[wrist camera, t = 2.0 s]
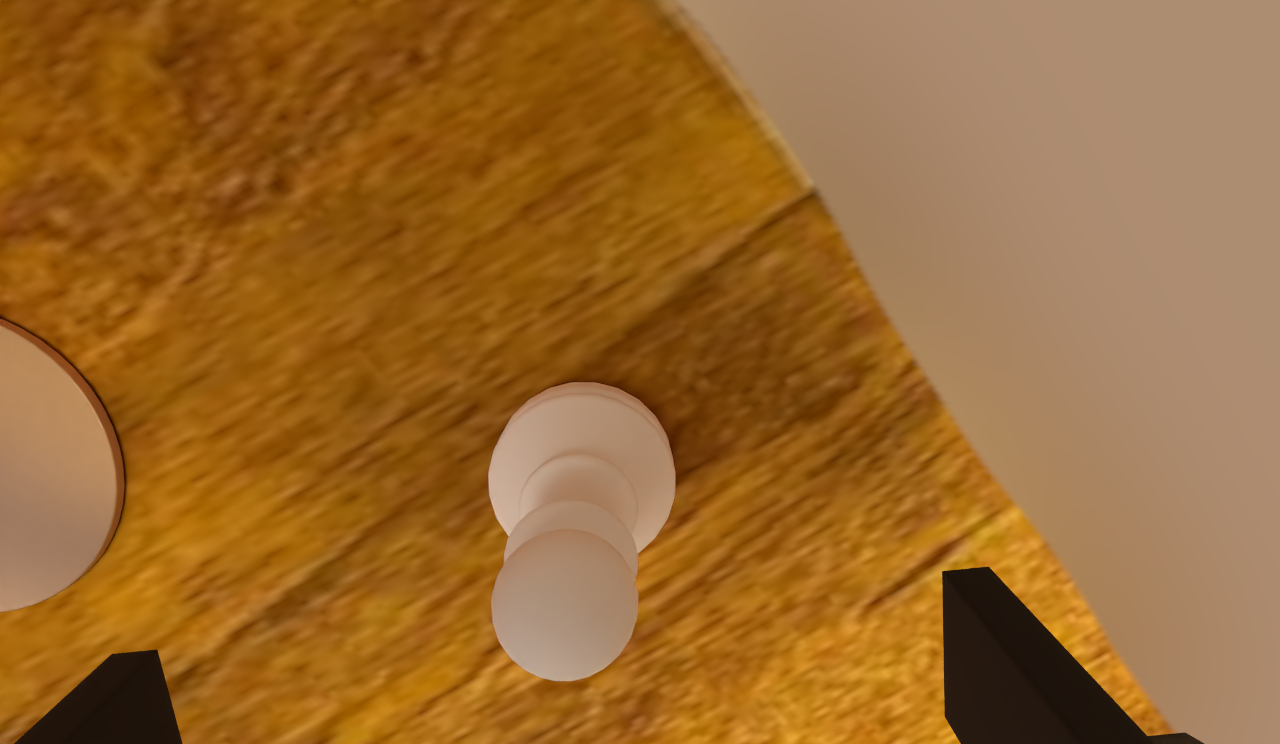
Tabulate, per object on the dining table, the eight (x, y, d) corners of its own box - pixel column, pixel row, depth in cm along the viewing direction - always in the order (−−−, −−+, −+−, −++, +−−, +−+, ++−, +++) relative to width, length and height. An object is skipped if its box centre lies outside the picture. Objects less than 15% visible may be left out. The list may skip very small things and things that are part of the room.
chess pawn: (570, 577, 24) (537, 810, 15) (459, 448, 23) (357, 619, 14) (708, 480, 23) (758, 665, 14) (600, 343, 22) (584, 453, 13)
